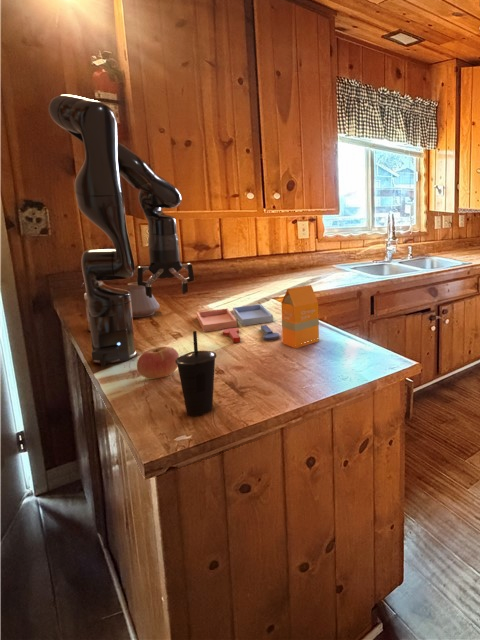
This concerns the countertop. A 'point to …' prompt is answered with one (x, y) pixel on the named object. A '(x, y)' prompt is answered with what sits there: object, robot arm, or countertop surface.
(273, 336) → the blue spoon
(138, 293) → the coffee pot
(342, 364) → the countertop surface
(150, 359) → the apple
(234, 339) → the red spoon
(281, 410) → the countertop surface
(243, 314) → the blue tray
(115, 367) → the countertop surface
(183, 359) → the drinking cup
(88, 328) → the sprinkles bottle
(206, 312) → the red tray
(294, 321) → the orange juice
